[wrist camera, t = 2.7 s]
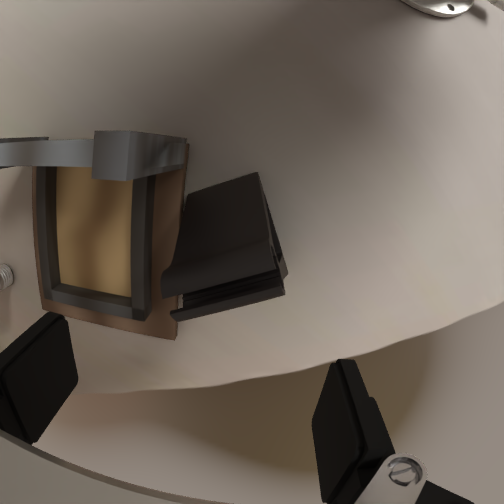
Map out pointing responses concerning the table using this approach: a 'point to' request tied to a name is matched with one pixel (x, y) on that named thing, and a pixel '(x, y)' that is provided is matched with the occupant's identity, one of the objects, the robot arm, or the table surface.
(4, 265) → the lightbulb
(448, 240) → the table surface
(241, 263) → the phone stand
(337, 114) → the table surface
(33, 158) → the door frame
